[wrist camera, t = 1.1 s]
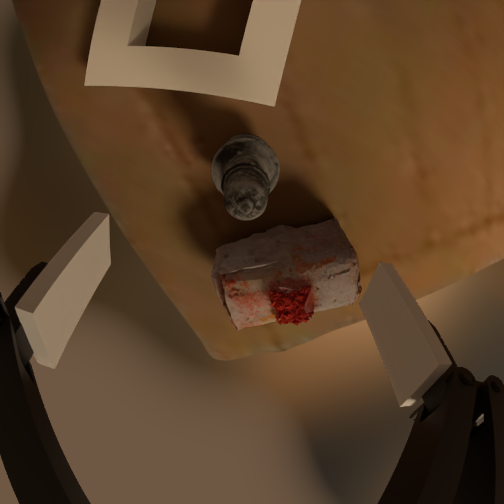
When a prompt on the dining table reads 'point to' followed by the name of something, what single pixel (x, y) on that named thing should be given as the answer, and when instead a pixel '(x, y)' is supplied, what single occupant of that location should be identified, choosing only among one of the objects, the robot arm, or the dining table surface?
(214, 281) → the food item
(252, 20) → the square frame
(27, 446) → the robot arm
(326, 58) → the dining table surface
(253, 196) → the dark chess piece
